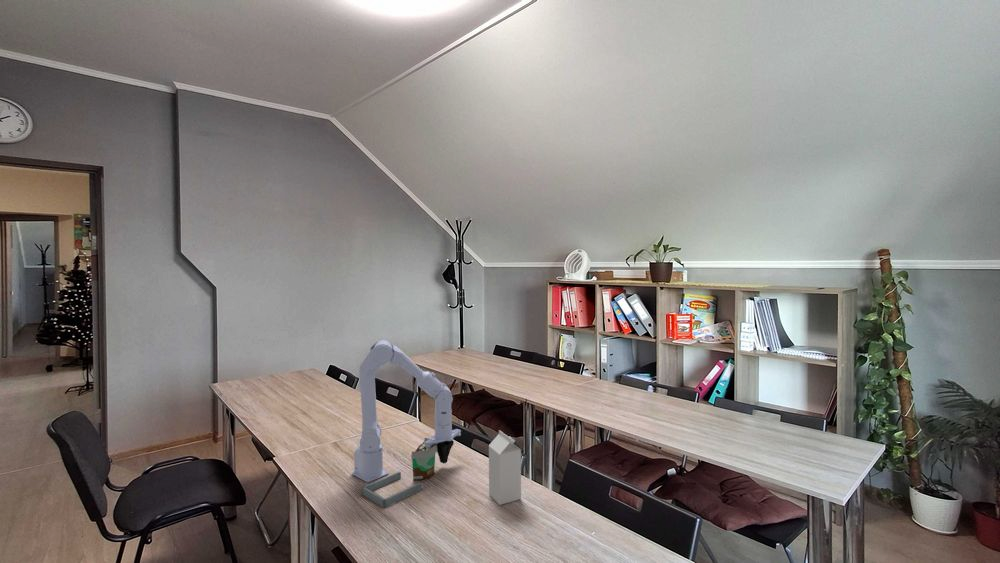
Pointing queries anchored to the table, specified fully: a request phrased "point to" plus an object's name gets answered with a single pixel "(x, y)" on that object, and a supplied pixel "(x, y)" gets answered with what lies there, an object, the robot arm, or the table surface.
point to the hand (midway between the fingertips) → (443, 462)
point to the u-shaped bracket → (394, 498)
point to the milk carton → (504, 469)
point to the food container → (423, 462)
